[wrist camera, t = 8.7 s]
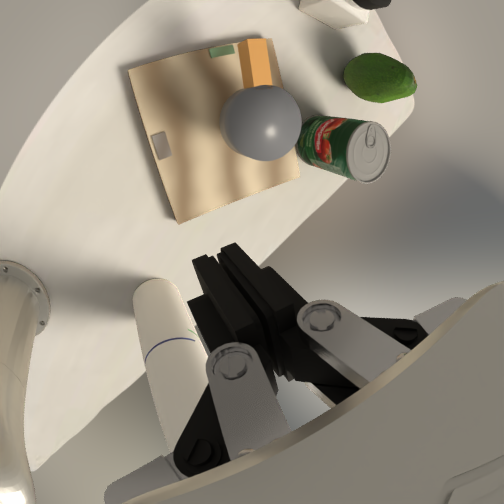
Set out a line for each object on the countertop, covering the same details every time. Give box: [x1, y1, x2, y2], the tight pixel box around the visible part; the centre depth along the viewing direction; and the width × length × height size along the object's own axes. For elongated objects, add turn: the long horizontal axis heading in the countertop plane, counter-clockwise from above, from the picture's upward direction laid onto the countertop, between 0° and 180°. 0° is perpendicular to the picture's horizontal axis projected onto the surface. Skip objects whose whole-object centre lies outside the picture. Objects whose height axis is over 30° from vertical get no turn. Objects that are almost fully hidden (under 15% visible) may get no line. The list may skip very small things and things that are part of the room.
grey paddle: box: [219, 39, 302, 161], centre depth 27 cm, size 13×8×3 cm, turn 8°
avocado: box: [343, 53, 417, 103], centre depth 33 cm, size 8×8×12 cm
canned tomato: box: [296, 115, 391, 184], centre depth 36 cm, size 8×8×11 cm
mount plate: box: [128, 38, 300, 225], centre depth 32 cm, size 18×20×6 cm
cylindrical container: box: [133, 279, 209, 453], centre depth 31 cm, size 7×7×25 cm
